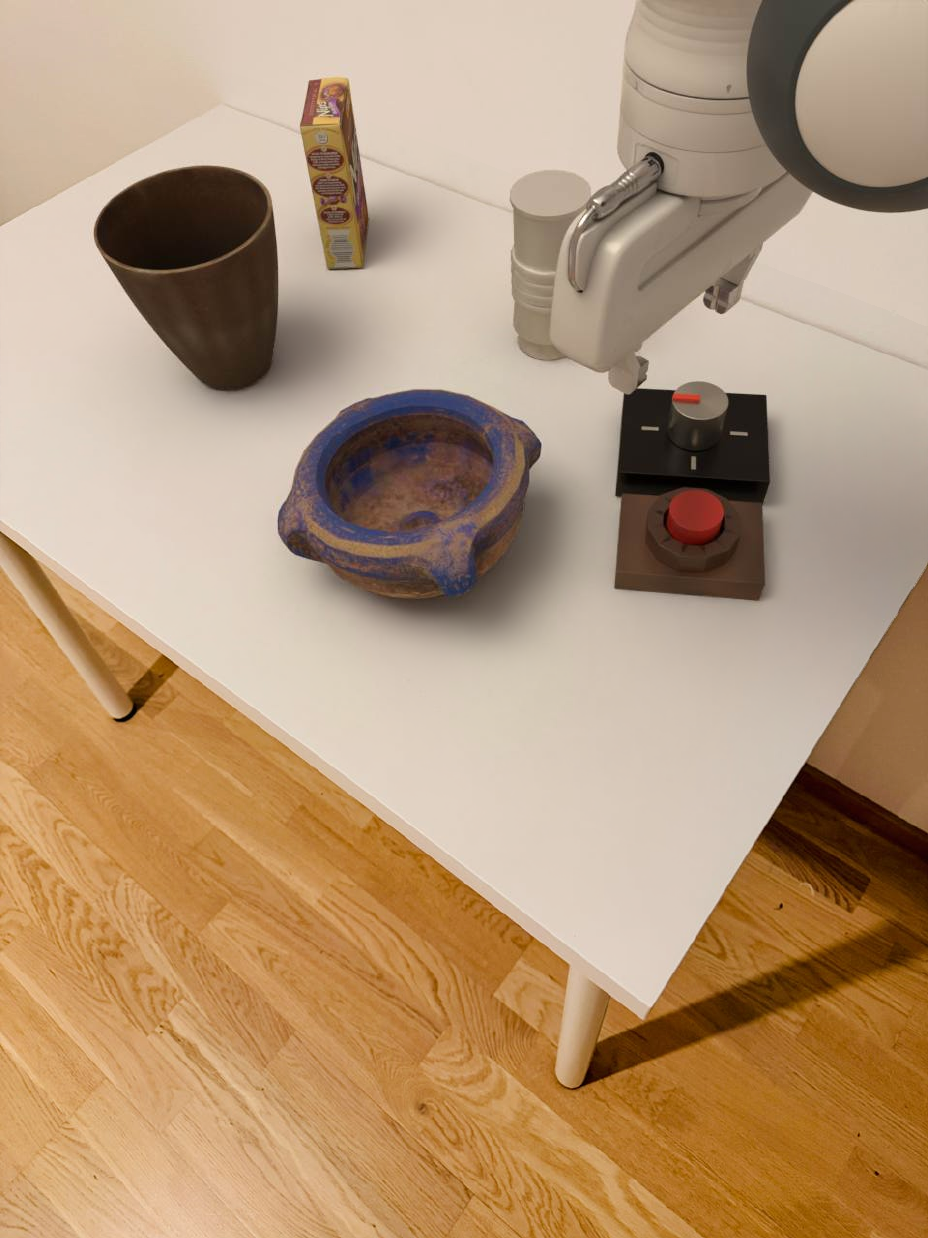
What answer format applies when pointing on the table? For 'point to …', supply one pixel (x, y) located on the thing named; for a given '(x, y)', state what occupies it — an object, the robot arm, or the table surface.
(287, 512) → the bowl
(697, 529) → the igniter button
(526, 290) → the beige ribbed cylinder
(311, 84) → the candy box
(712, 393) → the knob
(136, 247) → the flower pot
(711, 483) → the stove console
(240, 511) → the table surface
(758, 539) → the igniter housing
